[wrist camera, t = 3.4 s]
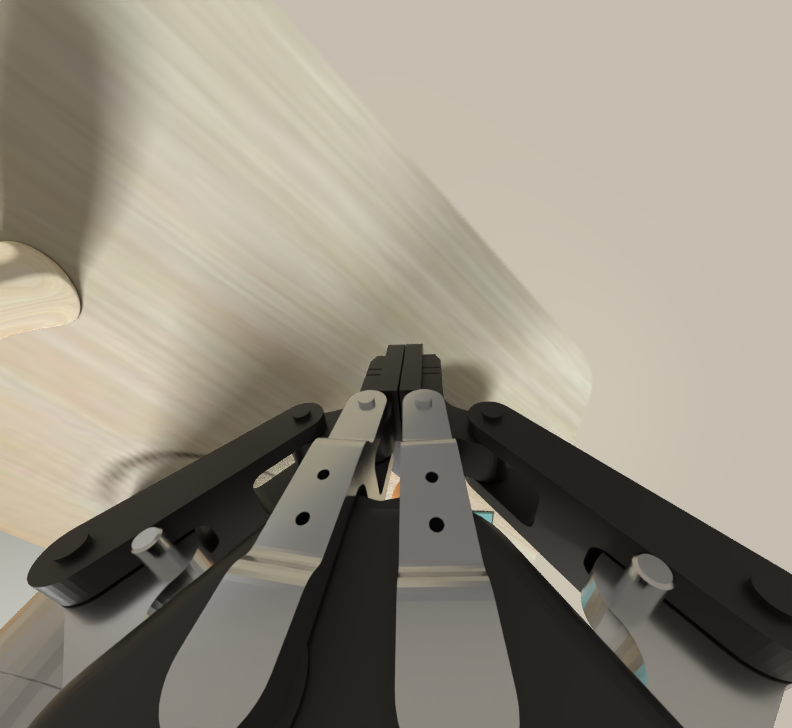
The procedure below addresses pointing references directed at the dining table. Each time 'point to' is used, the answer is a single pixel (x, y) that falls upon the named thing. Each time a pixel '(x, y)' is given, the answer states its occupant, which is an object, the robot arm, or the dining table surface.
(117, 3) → the dining table surface
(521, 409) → the dining table surface
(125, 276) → the dining table surface
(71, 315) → the beer glass
